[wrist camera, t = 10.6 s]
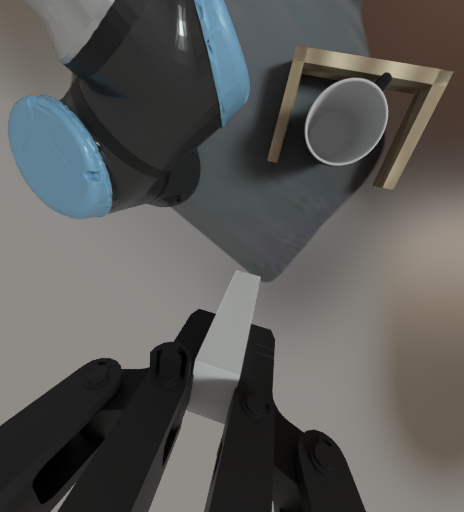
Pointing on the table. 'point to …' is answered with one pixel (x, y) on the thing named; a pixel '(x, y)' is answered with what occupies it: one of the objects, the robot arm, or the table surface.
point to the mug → (346, 121)
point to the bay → (351, 66)
